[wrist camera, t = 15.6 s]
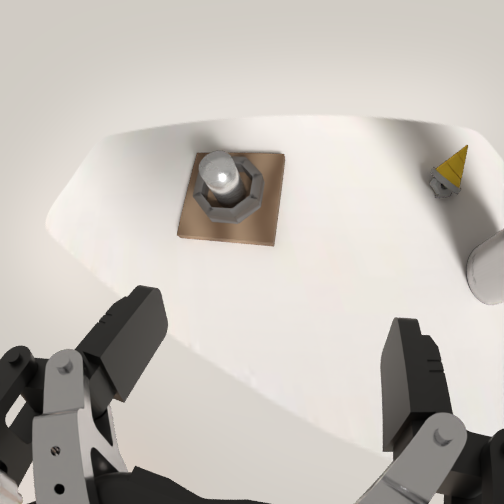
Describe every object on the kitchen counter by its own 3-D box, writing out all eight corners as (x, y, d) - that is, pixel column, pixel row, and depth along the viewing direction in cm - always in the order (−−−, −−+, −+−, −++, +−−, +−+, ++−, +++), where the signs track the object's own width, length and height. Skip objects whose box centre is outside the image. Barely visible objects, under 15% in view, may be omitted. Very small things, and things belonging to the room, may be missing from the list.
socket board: (285, 159, 47) (282, 144, 43) (274, 246, 43) (270, 236, 39) (200, 157, 50) (191, 144, 46) (180, 237, 46) (169, 228, 42)
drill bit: (416, 182, 42) (447, 130, 36) (438, 196, 43) (469, 147, 37) (429, 199, 38) (465, 141, 32) (453, 213, 39) (487, 160, 33)
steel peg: (247, 180, 45) (235, 150, 37) (244, 207, 44) (230, 180, 36) (219, 180, 46) (201, 151, 38) (214, 207, 45) (195, 181, 37)
